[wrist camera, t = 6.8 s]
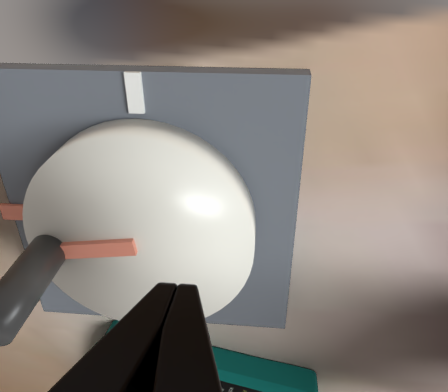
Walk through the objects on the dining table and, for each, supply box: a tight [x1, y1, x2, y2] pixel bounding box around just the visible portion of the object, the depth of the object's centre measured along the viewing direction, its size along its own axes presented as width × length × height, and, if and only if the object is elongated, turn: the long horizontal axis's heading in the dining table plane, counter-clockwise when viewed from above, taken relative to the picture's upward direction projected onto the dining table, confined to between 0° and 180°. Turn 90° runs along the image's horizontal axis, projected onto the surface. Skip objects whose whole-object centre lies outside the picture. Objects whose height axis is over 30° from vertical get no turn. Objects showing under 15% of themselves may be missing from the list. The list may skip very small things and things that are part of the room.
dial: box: [0, 119, 256, 346], centre depth 18 cm, size 11×11×7 cm
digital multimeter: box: [105, 320, 318, 392], centre depth 29 cm, size 7×15×3 cm, turn 75°
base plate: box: [0, 63, 311, 329], centre depth 22 cm, size 16×15×1 cm
